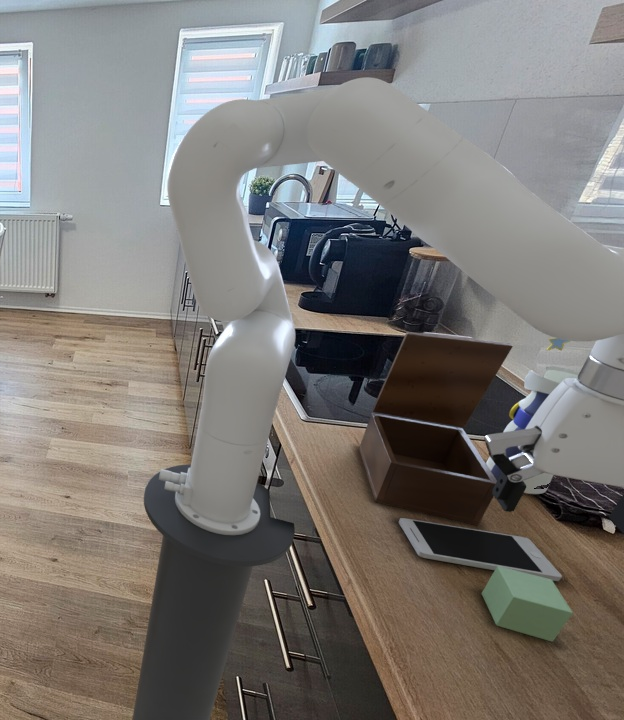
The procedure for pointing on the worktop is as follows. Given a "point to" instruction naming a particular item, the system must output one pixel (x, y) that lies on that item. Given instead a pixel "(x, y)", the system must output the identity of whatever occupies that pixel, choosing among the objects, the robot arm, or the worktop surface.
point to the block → (526, 603)
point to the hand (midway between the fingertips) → (559, 515)
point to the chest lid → (440, 377)
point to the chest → (426, 468)
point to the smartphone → (477, 548)
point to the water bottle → (528, 408)
